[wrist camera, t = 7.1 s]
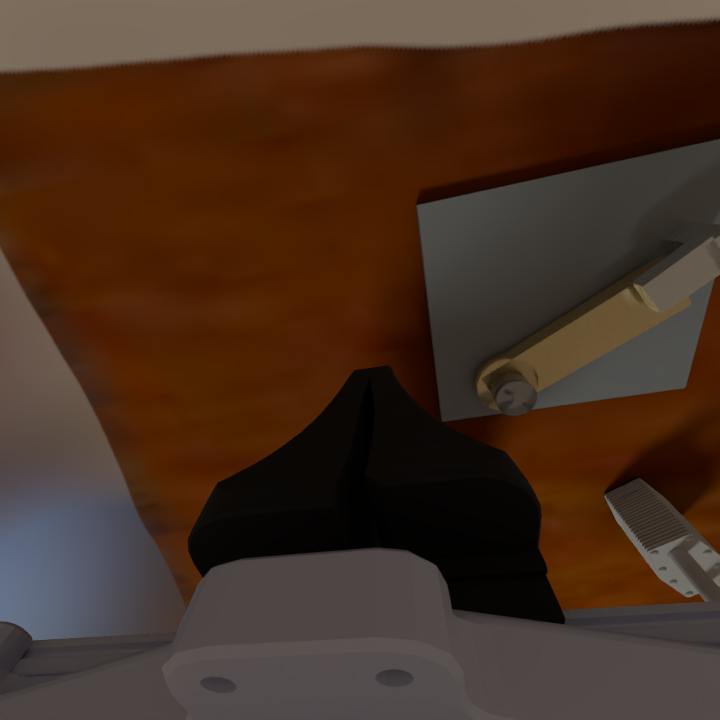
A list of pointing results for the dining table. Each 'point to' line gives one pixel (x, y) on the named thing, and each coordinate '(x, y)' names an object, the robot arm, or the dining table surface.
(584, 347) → the brass link
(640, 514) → the grey padlock
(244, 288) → the dining table surface
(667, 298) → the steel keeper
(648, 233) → the slate board
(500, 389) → the pin cap
